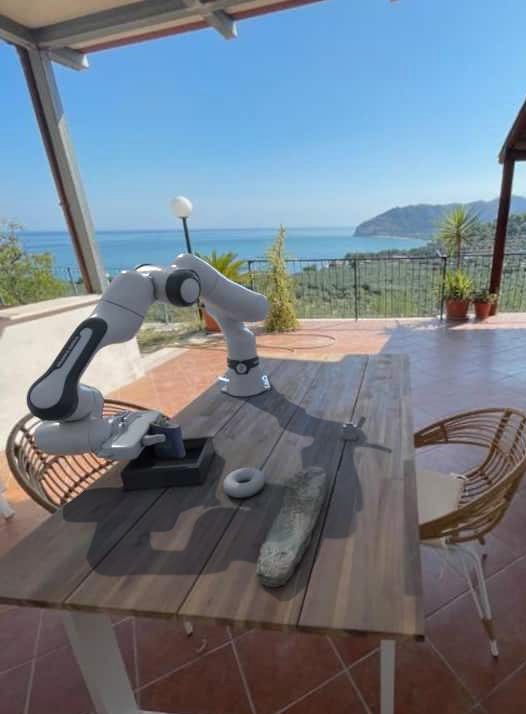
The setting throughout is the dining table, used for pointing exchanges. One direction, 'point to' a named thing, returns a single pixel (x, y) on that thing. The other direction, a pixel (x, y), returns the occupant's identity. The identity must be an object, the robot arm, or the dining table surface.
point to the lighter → (352, 428)
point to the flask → (168, 439)
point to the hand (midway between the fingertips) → (169, 432)
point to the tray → (169, 466)
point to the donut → (247, 489)
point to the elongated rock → (292, 526)
